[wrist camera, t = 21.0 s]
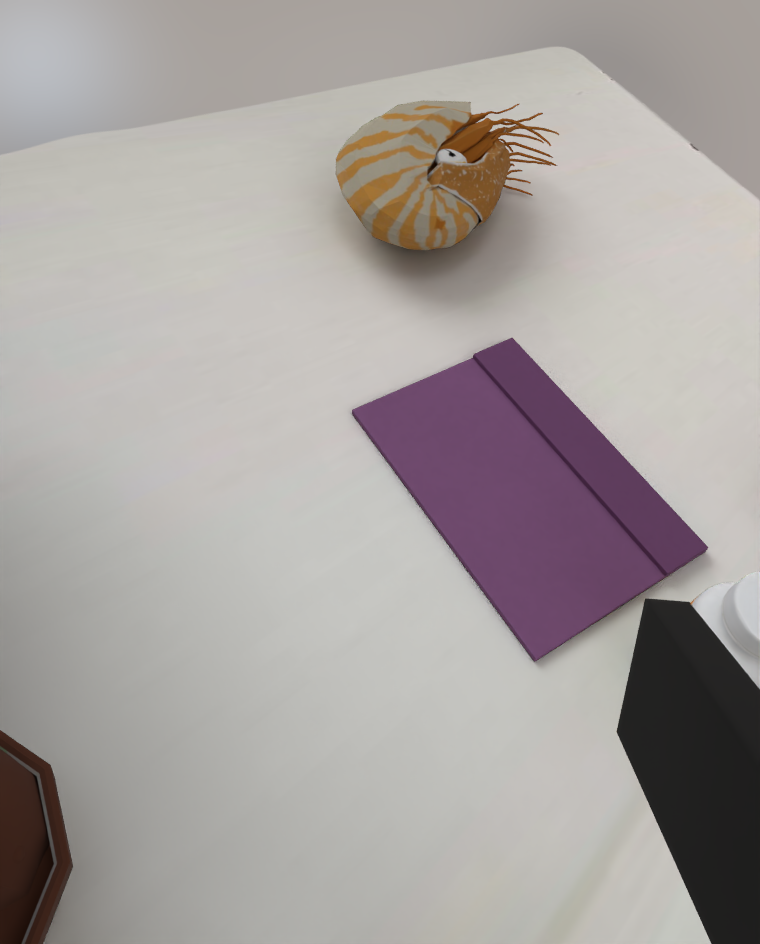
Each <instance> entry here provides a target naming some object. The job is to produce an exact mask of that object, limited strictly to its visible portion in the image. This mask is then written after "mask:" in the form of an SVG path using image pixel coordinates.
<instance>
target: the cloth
mask: <svg viewBox="0 0 760 944" xmlns="http://www.w3.org/2000/svg"><path fill="white" fill-rule="evenodd" d="M352 414H353V416H354V417H355V418H356V420H357V421H358V422H359V424H360V425H361V426H362V428H363V429H364V431H365V432H366V433H367V435H368V436H369V437H370V439H371V440H372V441H373V443H374V444H375V445H376V447H377V448H378V450H379V451H380V452H381V454H382V455H383V456H384V458H385V459H386V460H387V462H388V463H389V465H390V466H391V467H392V469H393V470H394V471H395V473H396V474H397V475H398V477H399V478H400V479H401V481H402V482H403V484H404V485H405V486H406V488H407V489H408V490H409V492H410V493H411V494H412V496H413V497H414V499H415V500H416V501H417V503H418V504H419V505H420V507H421V508H422V509H423V511H424V512H425V513H426V515H427V516H428V518H429V519H430V520H431V522H432V523H433V524H434V526H435V527H436V528H437V530H438V531H439V532H440V534H441V535H442V537H443V538H444V539H445V541H446V542H447V543H448V545H449V546H450V547H451V549H452V550H453V552H454V553H455V554H456V556H457V557H458V558H459V560H460V561H461V562H462V564H463V565H464V566H465V568H466V569H467V571H468V572H469V573H470V575H471V576H472V577H473V579H474V580H475V581H476V583H477V584H478V585H479V587H480V588H481V590H482V591H483V592H484V594H485V595H486V596H487V598H488V599H489V600H490V602H491V603H492V605H493V606H494V607H495V609H496V610H497V611H498V613H499V614H500V615H501V617H502V618H503V619H504V621H505V622H506V624H507V625H508V626H509V628H510V629H511V630H512V632H513V633H514V634H515V636H516V637H517V639H518V640H519V641H520V643H521V644H522V645H523V647H524V648H525V649H526V651H527V652H528V653H529V655H530V656H531V658H532V659H533V660H534V661H537V660H538V659H540V658H541V657H543V656H544V655H546V654H548V653H549V652H551V651H552V650H554V649H555V648H557V647H558V646H560V645H562V644H563V643H565V642H566V641H568V640H569V639H571V638H572V637H574V636H575V635H577V634H579V633H580V632H582V631H583V630H585V629H586V628H588V627H589V626H591V625H592V624H594V623H596V622H597V621H599V620H600V619H602V618H603V617H605V616H606V615H608V614H609V613H611V612H613V611H614V610H616V609H617V608H619V607H620V606H622V605H623V604H625V603H627V602H628V601H630V600H631V599H633V598H634V597H636V596H637V595H639V594H640V593H642V592H644V591H645V590H647V589H648V588H650V587H651V586H653V585H654V584H656V583H657V582H659V581H661V580H662V579H664V578H665V577H667V576H668V575H670V574H671V573H673V572H675V571H676V570H678V569H679V568H681V567H682V566H684V565H685V564H687V563H688V562H690V561H692V560H693V559H695V558H696V557H698V556H699V555H701V554H702V553H704V552H705V551H706V550H707V548H708V547H707V546H706V544H705V543H704V542H703V541H702V540H701V539H700V538H699V537H698V536H697V535H696V534H695V533H694V532H693V531H692V530H691V528H690V527H689V526H688V525H687V524H686V523H685V522H684V521H683V520H682V519H681V518H680V517H679V516H678V515H677V513H676V512H675V511H674V510H673V509H672V508H671V507H670V506H669V505H668V504H667V503H666V502H665V501H664V500H663V498H662V497H661V496H660V495H659V494H658V493H657V492H656V491H655V490H654V489H653V488H652V487H651V486H650V485H649V483H648V482H647V481H646V480H645V479H644V478H643V477H642V476H641V475H640V474H639V473H638V472H637V471H636V470H635V468H634V467H633V466H632V465H631V464H630V463H629V462H628V461H627V460H626V459H625V458H624V457H623V456H622V455H621V454H620V452H619V451H618V450H617V449H616V448H615V447H614V446H613V445H612V444H611V443H610V442H609V441H608V440H607V439H606V437H605V436H604V435H603V434H602V433H601V432H600V431H599V430H598V429H597V428H596V427H595V426H594V425H593V424H592V422H591V421H590V420H589V419H588V418H587V417H586V416H585V415H584V414H583V413H582V412H581V411H580V410H579V409H578V407H577V406H576V405H575V404H574V403H573V402H572V401H571V400H570V399H569V398H568V397H567V396H566V395H565V394H564V392H563V391H562V390H561V389H560V388H559V387H558V386H557V385H556V384H555V383H554V382H553V381H552V380H551V379H550V378H549V376H548V375H547V374H546V373H545V372H544V371H543V370H542V369H541V368H540V367H539V366H538V365H537V364H536V363H535V361H534V360H533V359H532V358H531V357H530V356H529V355H528V354H527V353H526V352H525V351H524V350H523V349H522V348H521V346H520V345H519V344H518V343H517V342H516V341H515V340H514V339H513V338H510V339H508V340H505V341H503V342H501V343H499V344H496V345H494V346H492V347H489V348H487V349H485V350H482V351H480V352H478V353H475V354H474V355H473V358H471V359H469V360H467V361H464V362H462V363H460V364H457V365H455V366H453V367H450V368H448V369H446V370H444V371H441V372H439V373H437V374H434V375H432V376H430V377H427V378H425V379H423V380H420V381H418V382H416V383H413V384H411V385H409V386H406V387H404V388H402V389H400V390H397V391H395V392H393V393H390V394H388V395H386V396H383V397H381V398H379V399H376V400H374V401H372V402H369V403H367V404H365V405H362V406H360V407H358V408H356V409H353V410H352Z"/></svg>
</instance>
